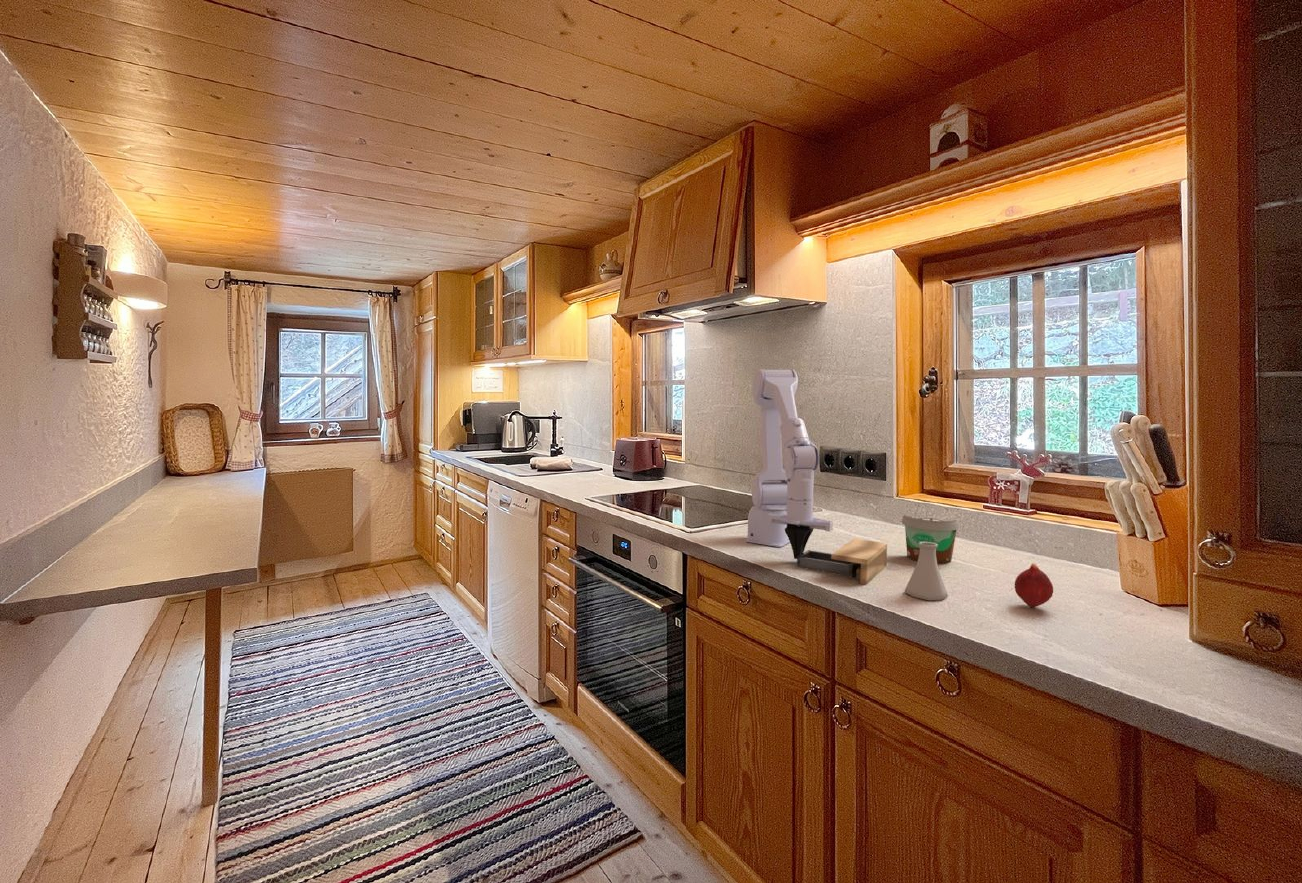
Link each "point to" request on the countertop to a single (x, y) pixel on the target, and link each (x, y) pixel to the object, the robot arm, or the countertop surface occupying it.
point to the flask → (926, 575)
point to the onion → (1033, 586)
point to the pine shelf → (864, 557)
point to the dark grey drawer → (826, 563)
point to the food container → (930, 536)
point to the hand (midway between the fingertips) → (798, 558)
